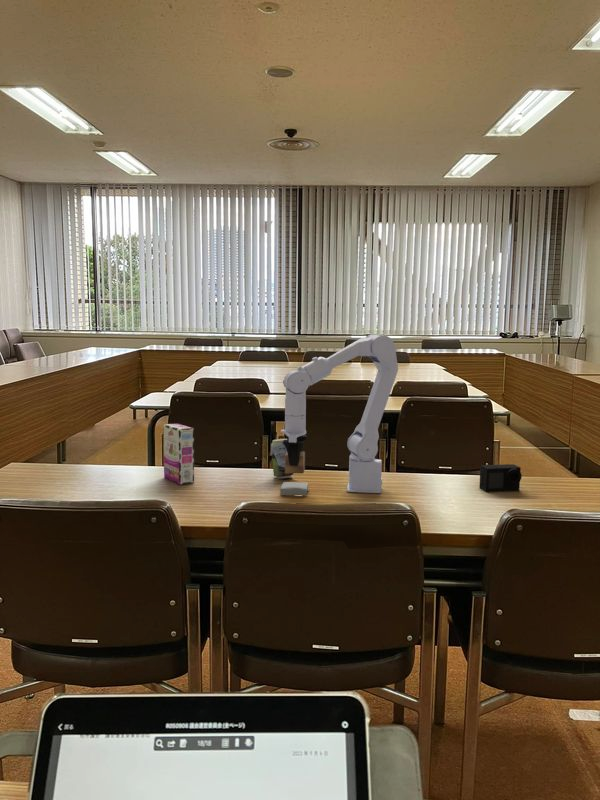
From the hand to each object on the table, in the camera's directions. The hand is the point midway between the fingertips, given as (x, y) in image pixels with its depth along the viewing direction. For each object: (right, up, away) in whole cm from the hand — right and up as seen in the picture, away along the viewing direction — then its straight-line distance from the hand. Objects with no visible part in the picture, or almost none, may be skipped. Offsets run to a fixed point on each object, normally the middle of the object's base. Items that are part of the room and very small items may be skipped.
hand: (294, 463), depth 179 cm
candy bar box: (-35, -7, +13) cm, 38 cm away
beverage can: (-4, -6, +17) cm, 19 cm away
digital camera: (+59, -9, +6) cm, 60 cm away
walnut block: (0, -2, 0) cm, 2 cm away
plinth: (0, -8, +1) cm, 8 cm away
